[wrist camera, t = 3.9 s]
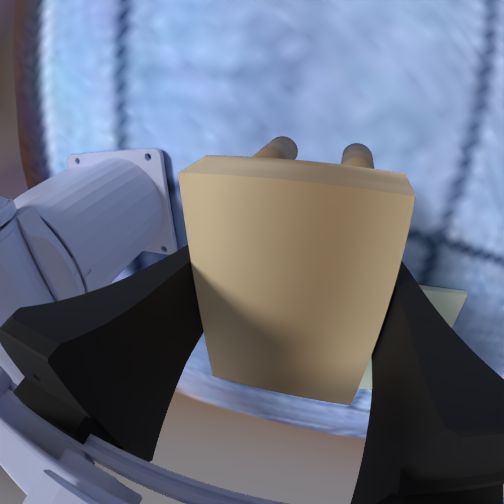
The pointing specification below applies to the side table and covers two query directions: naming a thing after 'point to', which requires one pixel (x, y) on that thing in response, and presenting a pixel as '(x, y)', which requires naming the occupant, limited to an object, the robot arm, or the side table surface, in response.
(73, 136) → the side table surface
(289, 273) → the tan block with pegs
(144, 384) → the robot arm
